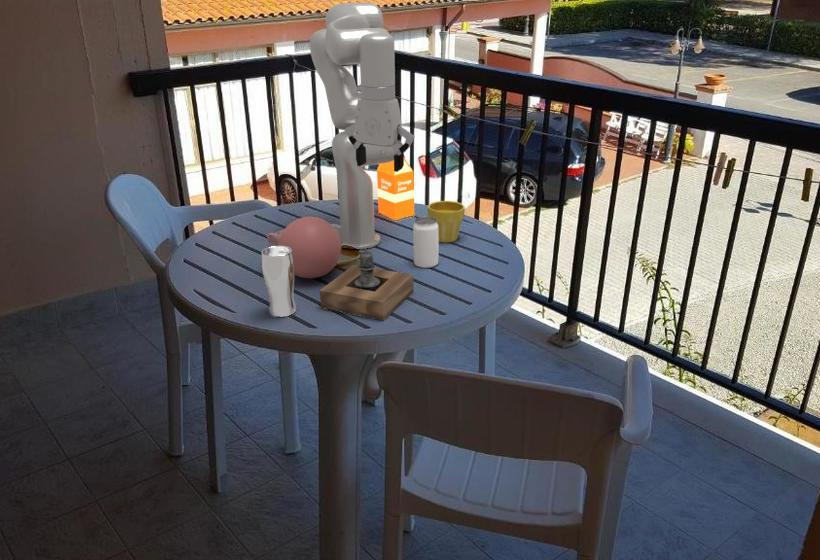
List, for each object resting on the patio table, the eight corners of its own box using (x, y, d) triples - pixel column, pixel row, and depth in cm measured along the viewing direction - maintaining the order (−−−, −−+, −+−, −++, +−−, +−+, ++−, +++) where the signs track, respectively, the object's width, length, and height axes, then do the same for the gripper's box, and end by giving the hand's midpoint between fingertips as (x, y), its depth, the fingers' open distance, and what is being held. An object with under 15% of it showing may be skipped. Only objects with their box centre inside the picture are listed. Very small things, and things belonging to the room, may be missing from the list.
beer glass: (284, 322, 151) (277, 259, 145) (261, 314, 155) (253, 253, 149) (304, 309, 157) (299, 248, 151) (281, 302, 160) (275, 242, 154)
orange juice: (397, 209, 221) (396, 147, 213) (414, 216, 214) (413, 153, 206) (378, 214, 216) (375, 152, 208) (394, 221, 210) (393, 157, 202)
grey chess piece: (377, 302, 157) (375, 253, 152) (352, 300, 158) (349, 252, 153) (383, 291, 163) (381, 244, 158) (359, 289, 164) (356, 242, 159)
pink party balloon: (288, 257, 185) (282, 203, 179) (353, 268, 178) (350, 212, 171) (254, 279, 172) (247, 222, 166) (323, 292, 165) (318, 232, 158)
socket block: (321, 308, 157) (319, 290, 155) (354, 281, 170) (353, 264, 169) (383, 320, 151) (382, 302, 149) (413, 291, 164) (413, 274, 162)
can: (442, 261, 181) (442, 218, 176) (432, 270, 176) (432, 226, 171) (419, 257, 184) (419, 215, 179) (409, 266, 178) (408, 222, 173)
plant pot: (465, 233, 200) (466, 200, 196) (462, 246, 191) (462, 212, 187) (430, 231, 202) (430, 199, 198) (425, 244, 193) (425, 211, 188)
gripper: (335, 92, 152) (339, 167, 160) (405, 99, 145) (406, 177, 153) (352, 86, 158) (355, 158, 166) (420, 93, 151) (420, 167, 159)
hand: (379, 167), depth 159 cm, fingers open, 9 cm apart
